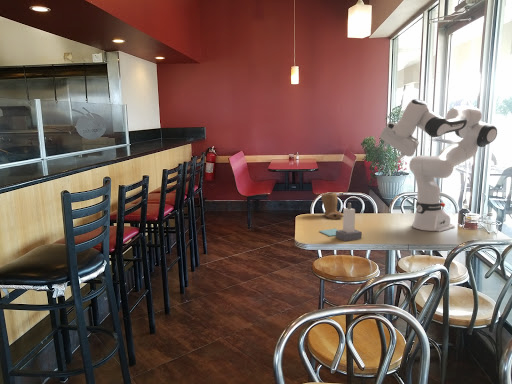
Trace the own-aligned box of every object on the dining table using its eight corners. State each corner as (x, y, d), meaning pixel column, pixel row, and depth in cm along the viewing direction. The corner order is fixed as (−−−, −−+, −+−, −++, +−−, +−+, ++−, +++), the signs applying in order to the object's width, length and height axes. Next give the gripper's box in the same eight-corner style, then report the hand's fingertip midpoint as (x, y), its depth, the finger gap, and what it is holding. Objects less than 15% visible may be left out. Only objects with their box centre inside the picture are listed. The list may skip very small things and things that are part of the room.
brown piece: (319, 214, 257) (320, 190, 255) (338, 213, 257) (339, 190, 255) (323, 219, 242) (324, 195, 240) (343, 219, 242) (344, 194, 240)
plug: (349, 236, 207) (350, 201, 204) (354, 238, 204) (355, 203, 201) (342, 237, 206) (343, 202, 203) (347, 239, 202) (348, 204, 199)
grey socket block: (352, 234, 210) (352, 228, 210) (361, 238, 203) (361, 231, 203) (335, 237, 206) (335, 230, 206) (344, 241, 199) (344, 234, 199)
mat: (335, 229, 220) (335, 228, 220) (346, 234, 211) (346, 233, 211) (319, 231, 217) (319, 230, 216) (329, 236, 208) (330, 235, 207)
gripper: (423, 141, 198) (409, 165, 204) (392, 122, 211) (380, 145, 217) (416, 140, 194) (402, 165, 200) (385, 121, 207) (373, 145, 214)
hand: (390, 155), depth 209 cm, fingers open, 8 cm apart
